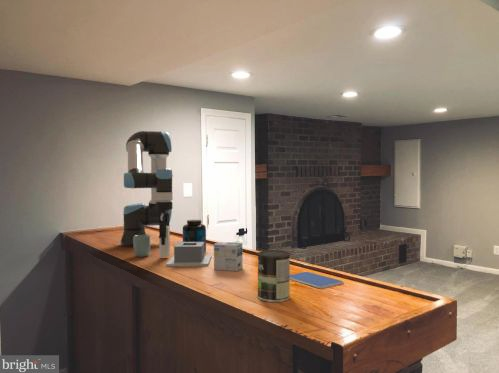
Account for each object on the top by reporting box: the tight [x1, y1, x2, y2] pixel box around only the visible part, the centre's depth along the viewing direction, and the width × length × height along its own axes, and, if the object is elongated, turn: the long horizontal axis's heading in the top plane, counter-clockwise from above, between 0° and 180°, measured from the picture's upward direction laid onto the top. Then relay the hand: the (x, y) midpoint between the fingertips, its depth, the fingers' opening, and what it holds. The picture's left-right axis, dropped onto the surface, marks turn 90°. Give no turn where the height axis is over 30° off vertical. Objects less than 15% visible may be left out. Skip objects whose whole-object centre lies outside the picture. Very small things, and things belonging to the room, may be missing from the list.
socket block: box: [165, 241, 212, 267], centre depth 175 cm, size 18×18×8 cm
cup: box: [133, 234, 151, 258], centre depth 187 cm, size 8×8×10 cm
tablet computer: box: [290, 271, 344, 290], centre depth 143 cm, size 19×13×1 cm, turn 36°
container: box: [182, 219, 207, 253], centre depth 199 cm, size 12×12×16 cm
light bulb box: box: [213, 241, 244, 272], centre depth 161 cm, size 11×7×11 cm, turn 71°
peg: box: [158, 225, 171, 258], centre depth 183 cm, size 4×4×14 cm
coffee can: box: [257, 249, 291, 303], centre depth 122 cm, size 10×10×14 cm
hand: (164, 250), depth 183 cm, fingers closed on peg, 4 cm apart
